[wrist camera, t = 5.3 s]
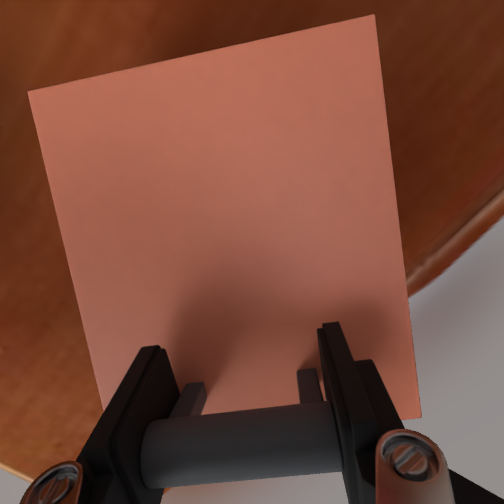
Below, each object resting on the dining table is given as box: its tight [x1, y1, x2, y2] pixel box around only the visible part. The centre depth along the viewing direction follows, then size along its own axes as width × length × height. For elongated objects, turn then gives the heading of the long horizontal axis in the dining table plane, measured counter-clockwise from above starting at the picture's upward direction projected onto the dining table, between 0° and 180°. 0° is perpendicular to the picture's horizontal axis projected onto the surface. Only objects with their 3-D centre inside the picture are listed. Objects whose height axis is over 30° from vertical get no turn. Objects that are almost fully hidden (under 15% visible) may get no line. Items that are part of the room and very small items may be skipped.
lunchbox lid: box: [28, 14, 422, 489], centre depth 10 cm, size 13×11×4 cm
